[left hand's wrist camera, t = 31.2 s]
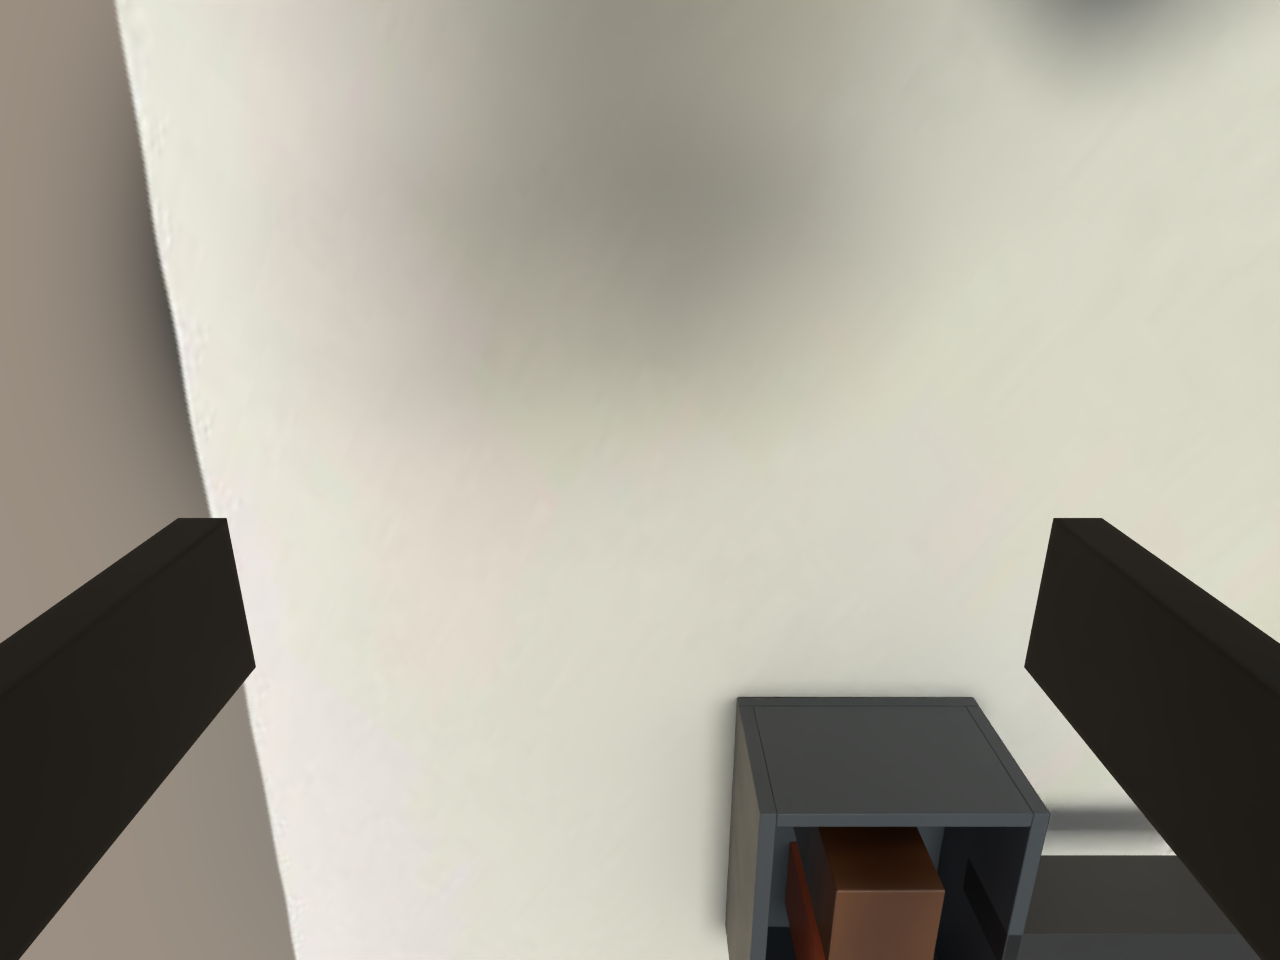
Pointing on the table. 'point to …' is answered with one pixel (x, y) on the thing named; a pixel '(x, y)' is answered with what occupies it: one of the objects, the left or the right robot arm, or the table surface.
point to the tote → (945, 837)
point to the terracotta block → (801, 911)
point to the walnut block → (872, 891)
